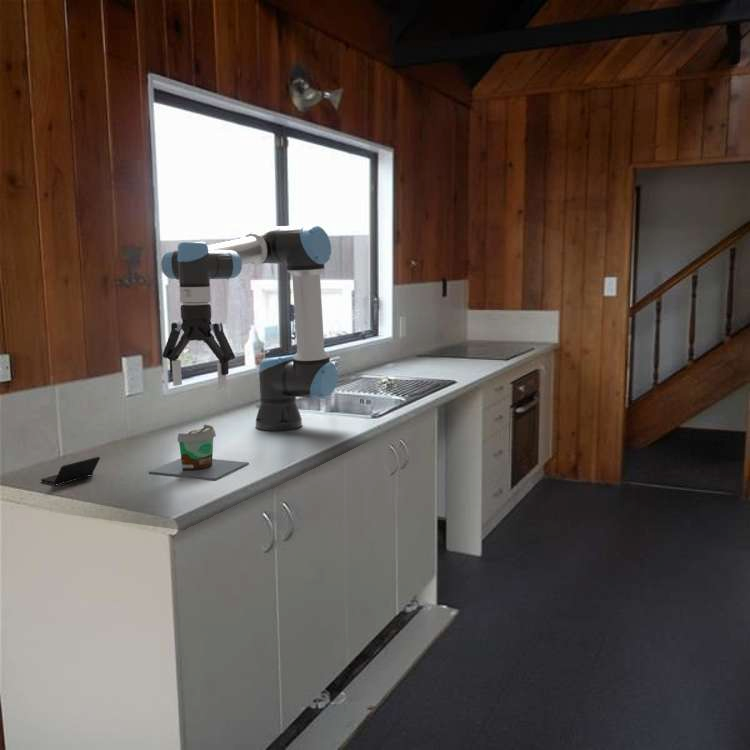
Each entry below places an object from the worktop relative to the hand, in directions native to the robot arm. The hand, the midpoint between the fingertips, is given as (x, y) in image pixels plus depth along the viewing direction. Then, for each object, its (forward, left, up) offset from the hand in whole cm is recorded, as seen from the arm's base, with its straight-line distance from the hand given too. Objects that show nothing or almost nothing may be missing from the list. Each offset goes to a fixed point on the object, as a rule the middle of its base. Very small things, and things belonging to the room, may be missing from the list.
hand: (199, 386), depth 191 cm
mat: (0, -1, -22) cm, 22 cm away
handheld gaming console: (+19, -26, -22) cm, 39 cm away
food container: (0, 0, -22) cm, 22 cm away
